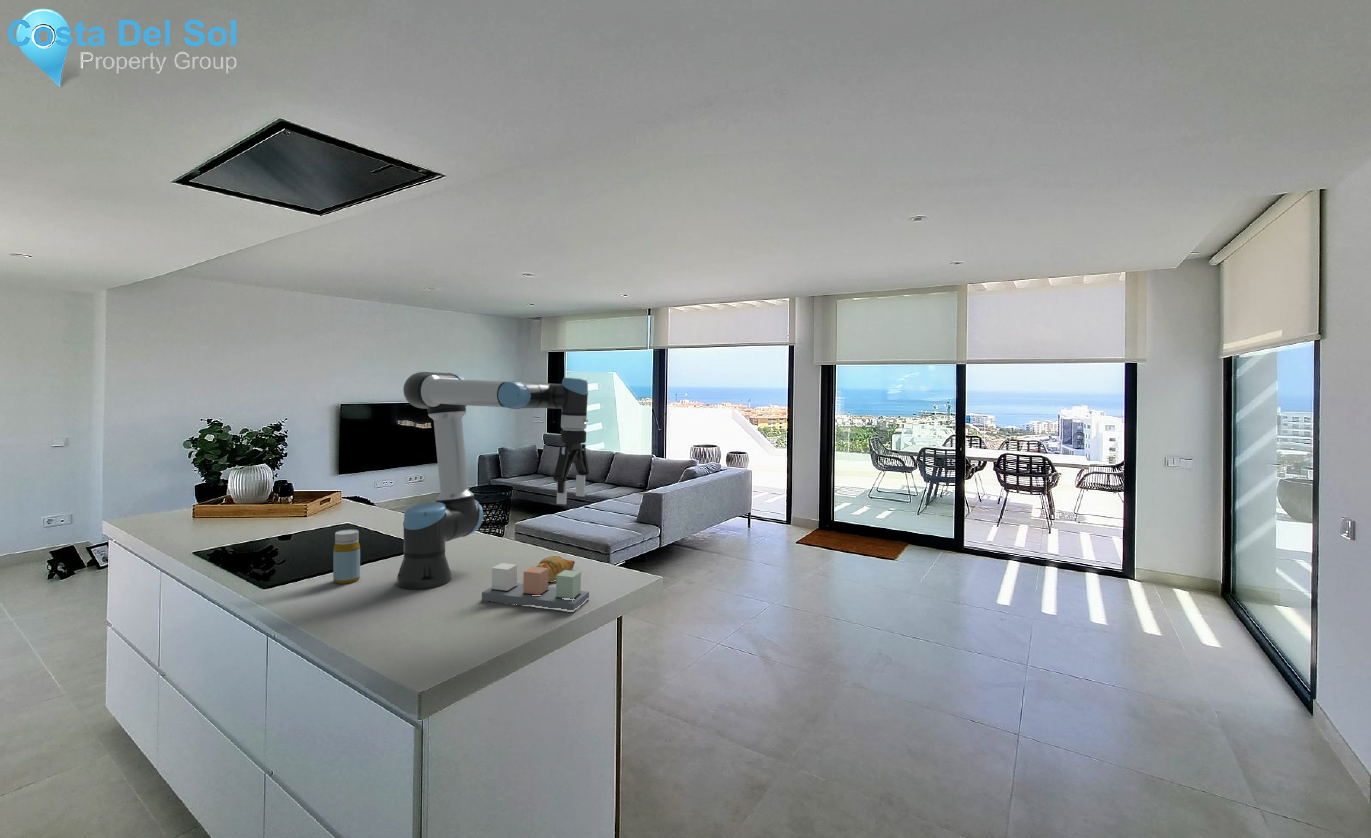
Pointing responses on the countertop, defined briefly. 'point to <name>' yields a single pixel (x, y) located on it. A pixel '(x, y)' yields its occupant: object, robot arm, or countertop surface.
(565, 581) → the key sage
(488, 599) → the grey slotted tray
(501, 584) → the key white
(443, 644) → the countertop surface
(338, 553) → the bottle
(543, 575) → the key terracotta
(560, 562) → the croissant
